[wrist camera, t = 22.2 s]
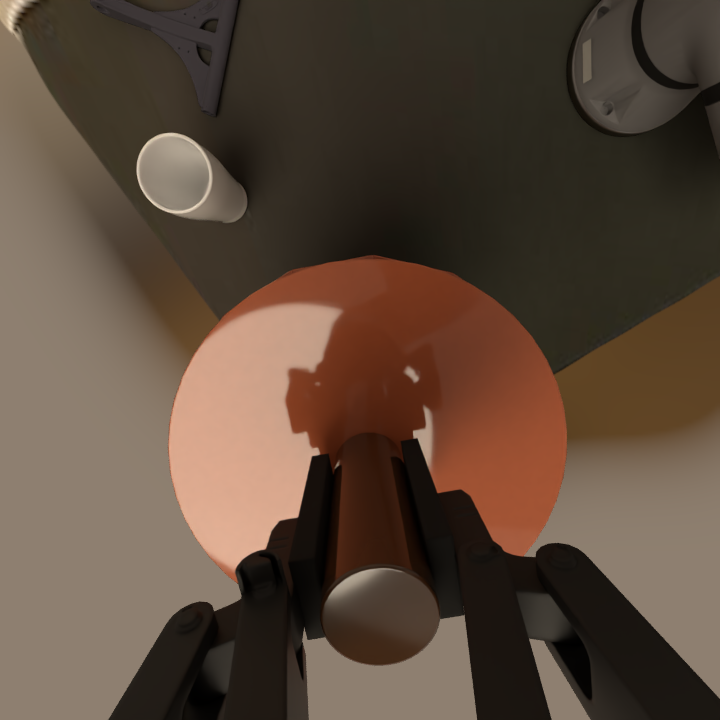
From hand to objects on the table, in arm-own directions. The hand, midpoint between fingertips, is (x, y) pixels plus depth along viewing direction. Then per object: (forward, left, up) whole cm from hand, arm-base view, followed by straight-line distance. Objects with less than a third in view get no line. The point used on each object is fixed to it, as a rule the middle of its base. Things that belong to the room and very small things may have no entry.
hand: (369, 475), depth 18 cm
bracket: (+15, -39, -37) cm, 56 cm away
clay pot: (0, 0, -20) cm, 20 cm away
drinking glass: (+13, -20, -37) cm, 44 cm away
